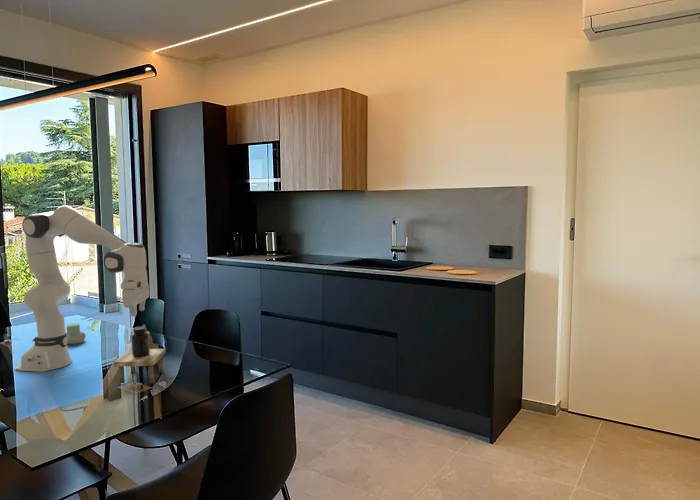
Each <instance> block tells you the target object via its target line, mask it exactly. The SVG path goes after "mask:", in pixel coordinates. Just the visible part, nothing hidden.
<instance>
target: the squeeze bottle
mask: <svg viewBox="0 0 700 500" xmlns="http://www.w3.org/2000/svg"><path fill="white" fill-rule="evenodd" d="M141 326H144V327H146V333H147V334H148V335H149V349H155V346H154V342H153V341H154V340H153V337H152V336H151V334H150V331H148V329H147V326H146V324H142V325H141Z"/></svg>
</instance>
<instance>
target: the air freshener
mask: <svg viewBox="0 0 700 500" xmlns="http://www.w3.org/2000/svg"><path fill="white" fill-rule="evenodd" d="M80 327H81V326H80V323H77V322H76V323H74V322H73V323H70V324H67V325H66V333H67V345H79V344H81V343H83V341H85V339H86V333H84V332H83V331H81V328H80Z"/></svg>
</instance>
